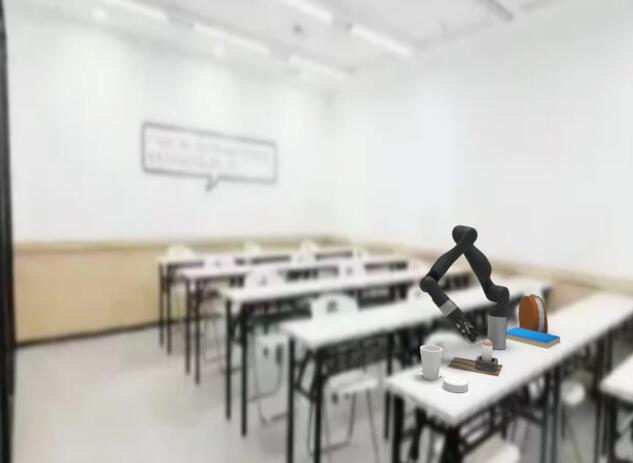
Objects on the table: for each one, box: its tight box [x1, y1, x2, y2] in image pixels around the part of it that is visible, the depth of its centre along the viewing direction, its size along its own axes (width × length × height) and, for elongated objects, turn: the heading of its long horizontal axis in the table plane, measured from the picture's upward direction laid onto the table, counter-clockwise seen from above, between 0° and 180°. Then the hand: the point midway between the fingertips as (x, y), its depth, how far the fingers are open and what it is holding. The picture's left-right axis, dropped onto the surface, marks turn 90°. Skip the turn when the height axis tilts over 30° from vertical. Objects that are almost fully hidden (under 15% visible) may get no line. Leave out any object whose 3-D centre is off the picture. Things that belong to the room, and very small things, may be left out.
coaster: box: [442, 375, 469, 394], centre depth 186 cm, size 10×10×4 cm
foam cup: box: [419, 344, 443, 381], centre depth 197 cm, size 10×9×13 cm
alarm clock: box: [517, 293, 549, 334], centre depth 270 cm, size 22×10×23 cm, turn 179°
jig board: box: [447, 354, 504, 377], centre depth 208 cm, size 16×22×5 cm
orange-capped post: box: [481, 338, 493, 363], centre depth 206 cm, size 4×4×13 cm
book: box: [506, 326, 561, 349], centre depth 253 cm, size 17×4×25 cm
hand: (475, 338), depth 207 cm, fingers open, 8 cm apart
